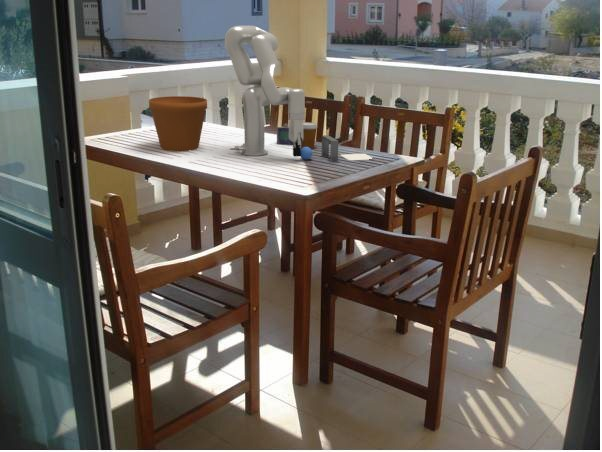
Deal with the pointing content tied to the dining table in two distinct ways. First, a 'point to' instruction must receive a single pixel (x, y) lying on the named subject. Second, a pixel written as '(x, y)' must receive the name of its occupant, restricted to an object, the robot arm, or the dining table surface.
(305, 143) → the disposable coffee cup
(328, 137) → the bridge
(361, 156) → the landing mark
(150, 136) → the dining table surface
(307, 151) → the ball
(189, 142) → the flowerpot
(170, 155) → the dining table surface
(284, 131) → the flask
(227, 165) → the dining table surface
